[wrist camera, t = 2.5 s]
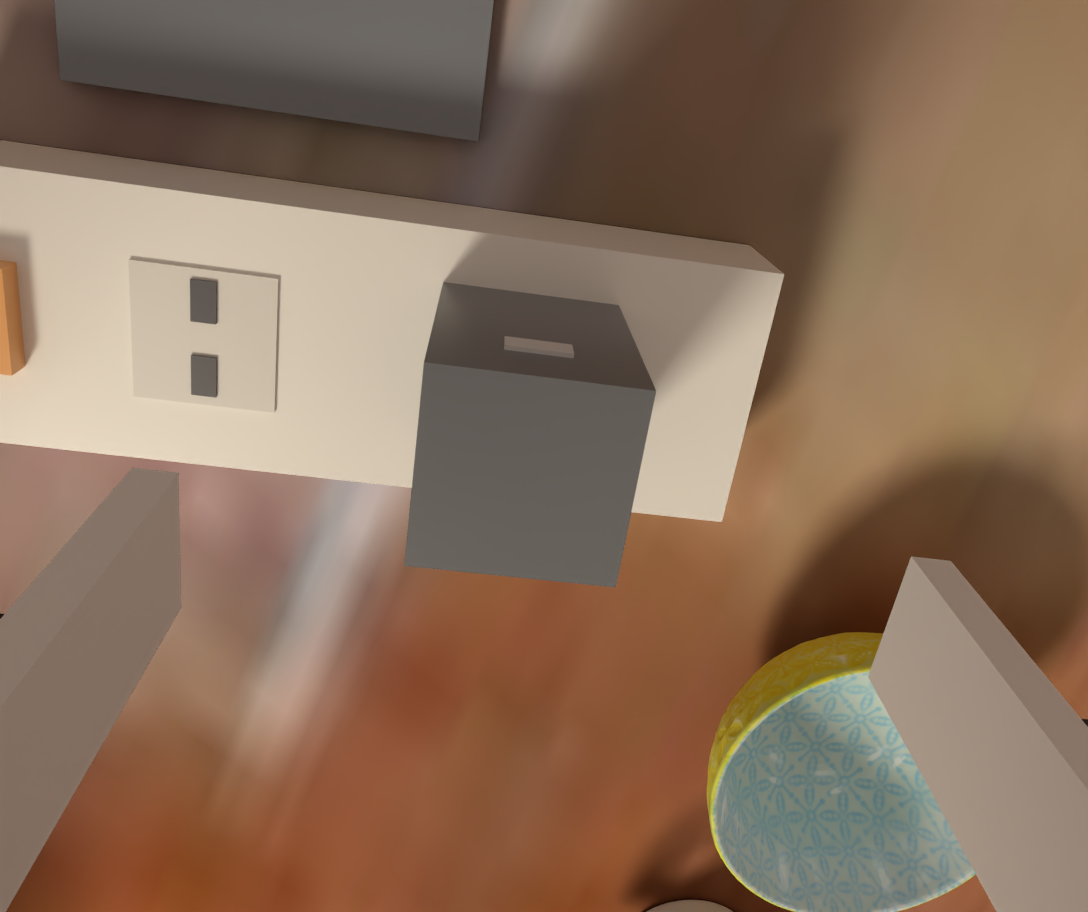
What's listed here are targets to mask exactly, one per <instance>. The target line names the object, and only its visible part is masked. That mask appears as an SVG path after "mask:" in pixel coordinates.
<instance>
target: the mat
mask: <svg viewBox="0 0 1088 912" xmlns="http://www.w3.org/2000/svg"><path fill="white" fill-rule="evenodd" d="M493 5H494V0H55V16H56V31H57V47H58V62H59V78H60V80H64V81H71V82H77V83H84V84H91V85H98V86H105V87H111V88H118V89H125V90H132V91H138V92H145V93H152V94H159V95H166V96H172V97H179V98H186V99H193V100H200V101H206V102H213V103H220V104H227V105H233V106H240V107H247V108H254V109H261V110H267V111H274V112H281V113H288V114H295V115H301V116H308V117H315V118H322V119H328V120H335V121H342V122H349V123H356V124H362V125H369V126H376V127H383V128H390V129H396V130H403V131H410V132H417V133H423V134H430V135H437V136H444V137H451V138H457V139H464V140H471V141H478V140H479V132H480V123H481V114H482V105H483V96H484V87H485V78H486V69H487V60H488V51H489V42H490V33H491V24H492V14H493Z"/></svg>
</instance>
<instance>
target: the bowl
mask: <svg viewBox="0 0 1088 912" xmlns="http://www.w3.org/2000/svg"><path fill="white" fill-rule="evenodd" d="M882 636H883V633H868V632H849V633H840V634H834V635H830V636H825V637H820V638H817V639H814V640H811V641H806V642H803V643H801V644H799V645H797V646H795V647H793V648H791V649H789V650H787V651H784V652H783V653H781V654H780V655H778V656H776V657H775V658H773V659H772V660H770V661H769V662H767V663H766V664H764V665H763V666H762V667H761V668H760V669H759V670H758V671H757V672H756V673H755V674H754V675H753V676H752V677H751V678H750V679H749V680H748V681H747V682H746V683H745V684H744V685H743V687H742V688H741V689H740V690H739V691H738V693H737V694H736V696H735V697H734V698H733V699H732V701H731V702H730V704H729V706H728V708H727V711H726V713H724V714H723V716H722V719H721V722H720V724H719V726H718V728H717V731H716V735H715V739H714V742H713V745H712V748H711V752H710V758H709V765H708V782H707V806H708V812H709V820H710V826H711V833H712V836H713V840H714V843H715V846H716V849H717V850H718V853H719V855H720V857H721V858H722V860H723V862H724V863H725V865H726V866H727V868H728V869H729V870H730V872H731V873H732V874H733V875H734V876H735V877H736V879H737V880H738V881H739V882H740V883H742V884H743V885H744V886H745V887H746V888H747V889H749V890H750V891H751V892H753V893H754V894H756V895H757V896H759V897H761V898H762V899H764V900H766V901H768V902H769V903H771V904H774V905H776V906H779V907H781V908H784V909H787V910H790V911H793V912H897V911H901V910H904V909H908V908H911V907H914V906H917V905H920V904H922V903H925V902H928V901H930V900H932V899H934V898H936V897H939V896H941V895H943V894H945V893H947V892H949V891H951V890H952V889H954V888H956V887H958V886H959V885H961V884H963V883H964V882H965V881H967V880H969V879H970V878H972V877H973V876H974V875H976V873H975V872H974V870H973V868H972V866H971V864H970V862H969V861H968V859H967V857H966V855H965V853H964V851H963V850H962V848H961V846H960V844H959V842H958V841H957V839H956V837H955V835H954V833H953V831H952V830H951V828H950V826H949V824H948V822H947V820H946V819H945V817H944V815H943V813H942V811H941V809H940V808H939V806H938V804H937V802H936V800H935V799H934V797H933V795H932V793H931V791H930V789H929V788H928V786H927V784H926V782H925V780H924V778H923V777H922V775H921V773H920V771H919V769H918V767H917V766H916V764H915V762H914V760H913V758H912V757H911V755H910V753H909V751H908V749H907V747H906V746H905V744H904V742H903V740H902V738H901V736H900V735H899V733H898V731H897V729H896V727H895V725H894V724H893V722H892V720H891V718H890V716H889V715H888V713H887V711H886V709H885V707H884V705H883V704H882V702H881V700H880V698H879V696H878V694H877V693H876V691H875V689H874V687H873V685H872V683H871V682H870V680H869V678H868V675H869V672H870V670H871V667H872V664H873V661H874V658H875V656H876V653H877V650H878V647H879V645H880V642H881V639H882Z"/></svg>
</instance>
